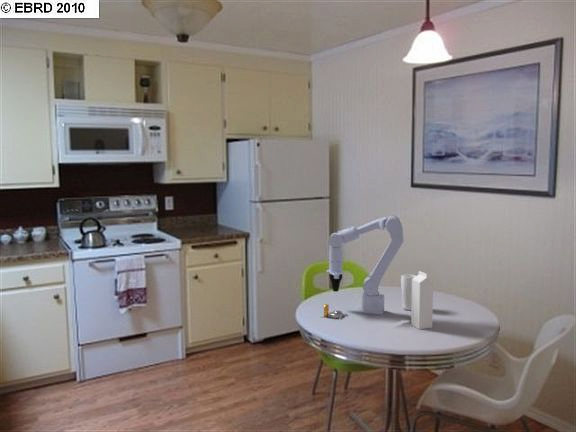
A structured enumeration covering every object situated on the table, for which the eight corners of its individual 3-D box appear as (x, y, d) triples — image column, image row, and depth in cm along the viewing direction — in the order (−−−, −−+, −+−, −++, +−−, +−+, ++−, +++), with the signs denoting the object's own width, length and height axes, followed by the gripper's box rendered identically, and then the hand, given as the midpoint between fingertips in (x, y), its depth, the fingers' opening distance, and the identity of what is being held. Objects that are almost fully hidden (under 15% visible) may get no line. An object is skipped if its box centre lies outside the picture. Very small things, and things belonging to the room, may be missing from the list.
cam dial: (344, 312, 209) (344, 301, 208) (349, 318, 201) (349, 306, 200) (321, 313, 207) (321, 302, 206) (326, 319, 199) (326, 308, 198)
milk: (419, 329, 191) (419, 274, 188) (410, 324, 196) (411, 271, 194) (432, 327, 192) (433, 273, 190) (424, 322, 198) (425, 270, 196)
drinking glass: (399, 310, 215) (399, 277, 214) (401, 305, 222) (402, 273, 220) (415, 311, 213) (415, 278, 211) (417, 307, 219) (417, 274, 217)
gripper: (325, 257, 218) (325, 286, 220) (327, 264, 204) (327, 295, 206) (341, 257, 218) (341, 286, 220) (343, 264, 204) (343, 295, 205)
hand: (335, 291), depth 213 cm, fingers closed
